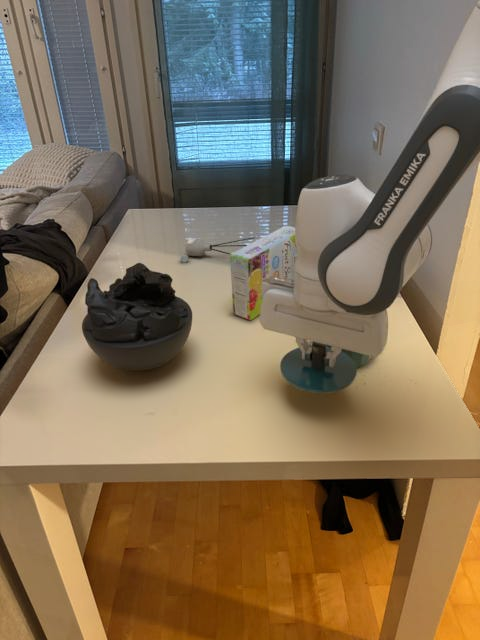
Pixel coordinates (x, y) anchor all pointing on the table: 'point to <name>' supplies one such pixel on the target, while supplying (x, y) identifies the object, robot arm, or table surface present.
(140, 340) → the bowl of black rocks
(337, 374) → the lid
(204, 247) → the reed diffuser
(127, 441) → the table surface
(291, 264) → the snack box
